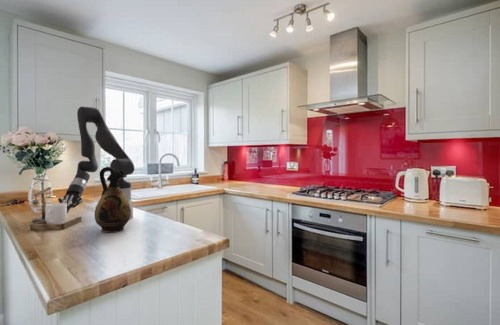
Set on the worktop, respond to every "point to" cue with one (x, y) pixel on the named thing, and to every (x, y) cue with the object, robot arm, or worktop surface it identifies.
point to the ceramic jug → (112, 203)
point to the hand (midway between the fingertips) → (63, 213)
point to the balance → (36, 203)
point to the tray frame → (54, 225)
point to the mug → (56, 213)
